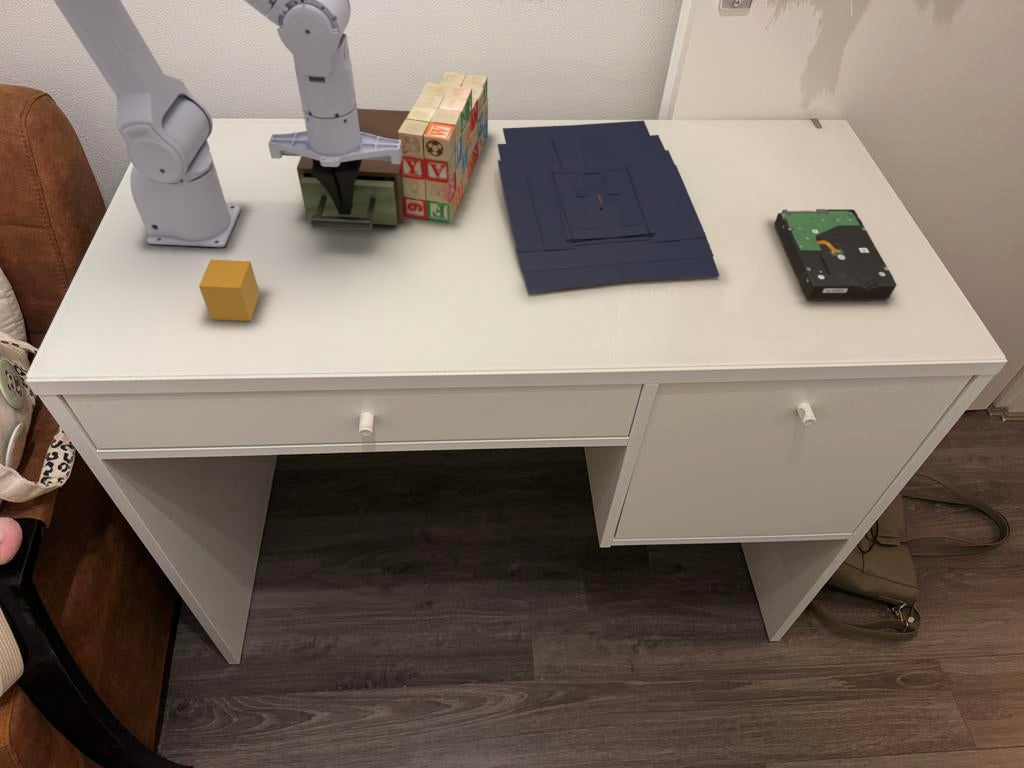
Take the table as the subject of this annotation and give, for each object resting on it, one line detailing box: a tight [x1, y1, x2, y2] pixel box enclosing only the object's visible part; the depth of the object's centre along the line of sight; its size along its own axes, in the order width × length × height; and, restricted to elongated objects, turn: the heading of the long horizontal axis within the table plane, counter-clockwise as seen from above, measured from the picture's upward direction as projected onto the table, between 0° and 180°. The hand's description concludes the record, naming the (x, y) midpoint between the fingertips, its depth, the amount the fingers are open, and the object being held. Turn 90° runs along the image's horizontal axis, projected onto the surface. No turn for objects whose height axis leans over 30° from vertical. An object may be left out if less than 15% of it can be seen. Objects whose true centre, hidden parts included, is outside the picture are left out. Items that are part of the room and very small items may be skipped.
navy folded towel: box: [497, 120, 721, 294], centre depth 98 cm, size 24×30×4 cm
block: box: [198, 259, 261, 322], centre depth 83 cm, size 4×4×5 cm
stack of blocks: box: [398, 71, 489, 224], centre depth 99 cm, size 21×6×12 cm, turn 168°
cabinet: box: [296, 108, 411, 224], centre depth 98 cm, size 14×12×7 cm
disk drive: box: [774, 208, 897, 301], centre depth 93 cm, size 10×3×15 cm
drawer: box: [299, 173, 398, 231], centre depth 95 cm, size 19×11×6 cm, turn 179°
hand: (345, 209), depth 90 cm, fingers closed
